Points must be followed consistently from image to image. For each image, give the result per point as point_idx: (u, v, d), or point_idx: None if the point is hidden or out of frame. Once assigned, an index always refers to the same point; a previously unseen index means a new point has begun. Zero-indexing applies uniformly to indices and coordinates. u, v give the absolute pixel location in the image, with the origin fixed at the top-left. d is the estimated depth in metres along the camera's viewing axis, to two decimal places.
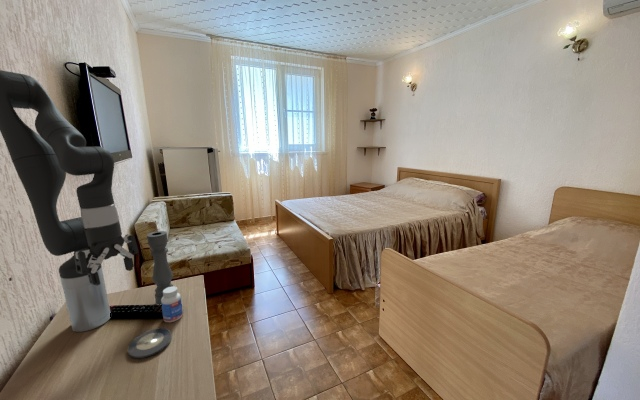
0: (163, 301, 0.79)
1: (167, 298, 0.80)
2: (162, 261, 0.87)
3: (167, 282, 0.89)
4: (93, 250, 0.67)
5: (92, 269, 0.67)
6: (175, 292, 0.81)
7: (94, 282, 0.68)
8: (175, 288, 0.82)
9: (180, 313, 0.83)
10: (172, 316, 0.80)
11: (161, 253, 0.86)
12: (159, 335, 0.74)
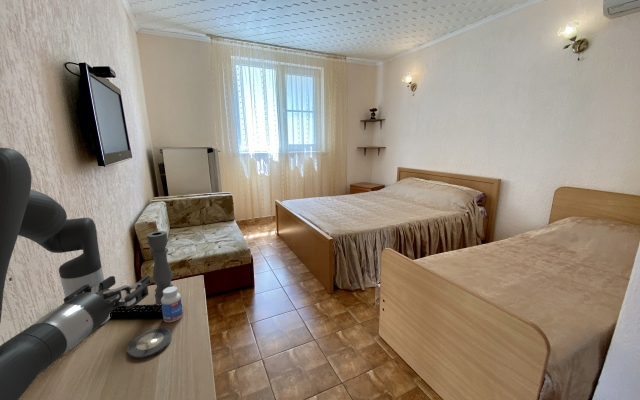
0: (163, 301, 0.79)
1: (167, 298, 0.80)
2: (162, 261, 0.87)
3: (167, 282, 0.89)
4: None
5: None
6: (175, 292, 0.81)
7: None
8: (175, 288, 0.82)
9: (180, 313, 0.83)
10: (172, 316, 0.80)
11: (161, 253, 0.86)
12: (159, 335, 0.74)
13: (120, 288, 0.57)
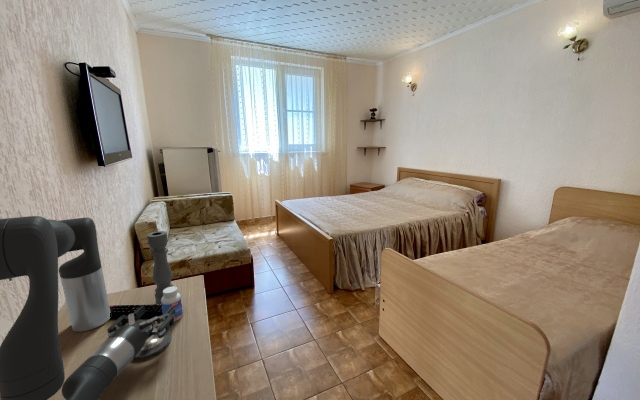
0: (163, 301, 0.79)
1: (167, 298, 0.80)
2: (162, 261, 0.87)
3: (167, 282, 0.89)
4: None
5: None
6: (175, 292, 0.81)
7: None
8: (175, 288, 0.82)
9: (180, 313, 0.83)
10: None
11: (161, 253, 0.86)
12: None
13: (152, 319, 0.68)
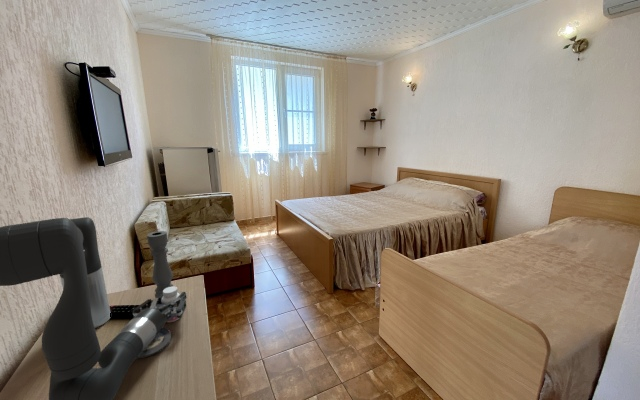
0: (163, 301, 0.79)
1: (167, 298, 0.80)
2: (162, 261, 0.87)
3: (167, 282, 0.89)
4: None
5: None
6: (175, 292, 0.81)
7: None
8: (175, 288, 0.82)
9: None
10: (172, 316, 0.80)
11: (161, 253, 0.86)
12: (159, 335, 0.74)
13: (169, 303, 0.77)
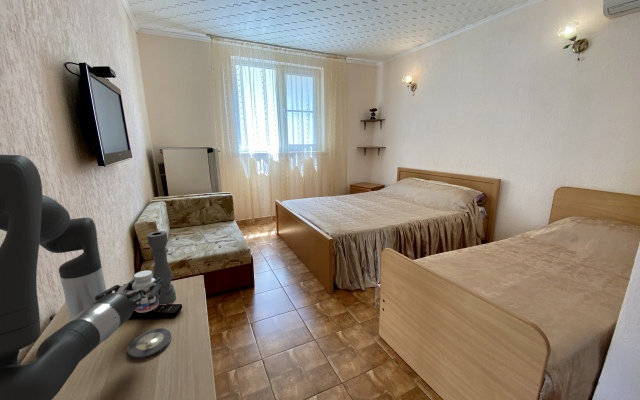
0: (134, 287, 0.66)
1: (139, 283, 0.67)
2: (162, 261, 0.87)
3: (167, 282, 0.89)
4: None
5: None
6: (149, 276, 0.68)
7: None
8: (149, 272, 0.69)
9: None
10: (145, 306, 0.67)
11: (161, 253, 0.86)
12: (159, 335, 0.74)
13: (139, 289, 0.64)
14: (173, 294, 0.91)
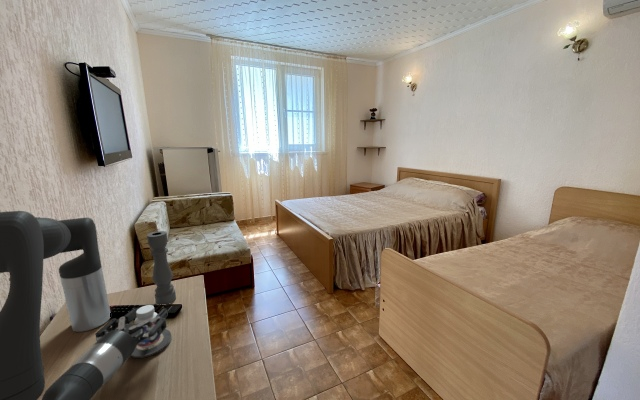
0: (136, 323, 0.68)
1: (141, 320, 0.68)
2: (162, 261, 0.87)
3: (167, 282, 0.89)
4: None
5: None
6: (151, 312, 0.69)
7: None
8: (151, 307, 0.70)
9: None
10: (147, 341, 0.69)
11: (161, 253, 0.86)
12: None
13: (143, 323, 0.65)
14: (173, 294, 0.91)
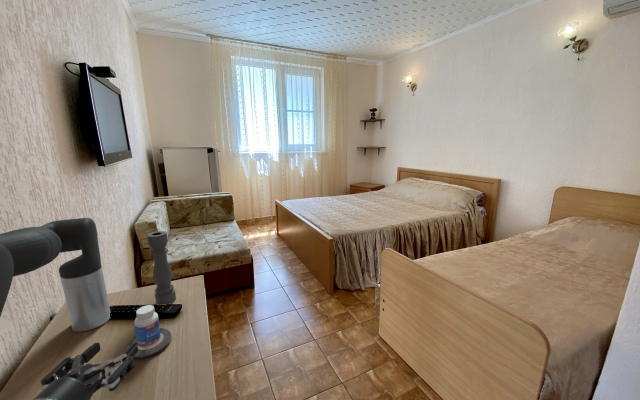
0: (136, 323, 0.68)
1: (141, 320, 0.68)
2: (162, 261, 0.87)
3: (167, 282, 0.89)
4: None
5: None
6: (151, 312, 0.69)
7: None
8: (151, 307, 0.70)
9: (157, 336, 0.71)
10: (147, 341, 0.69)
11: (161, 253, 0.86)
12: None
13: (103, 364, 0.52)
14: (173, 294, 0.91)
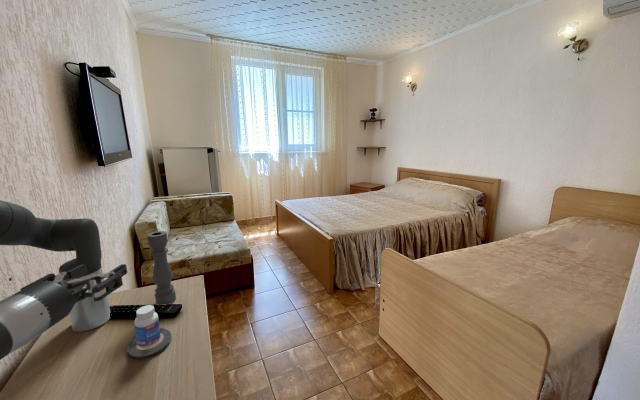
0: (136, 323, 0.68)
1: (141, 320, 0.68)
2: (162, 261, 0.87)
3: (167, 282, 0.89)
4: None
5: None
6: (151, 312, 0.69)
7: None
8: (151, 307, 0.70)
9: (157, 336, 0.71)
10: (147, 341, 0.69)
11: (161, 253, 0.86)
12: None
13: (88, 277, 0.49)
14: (173, 294, 0.91)
